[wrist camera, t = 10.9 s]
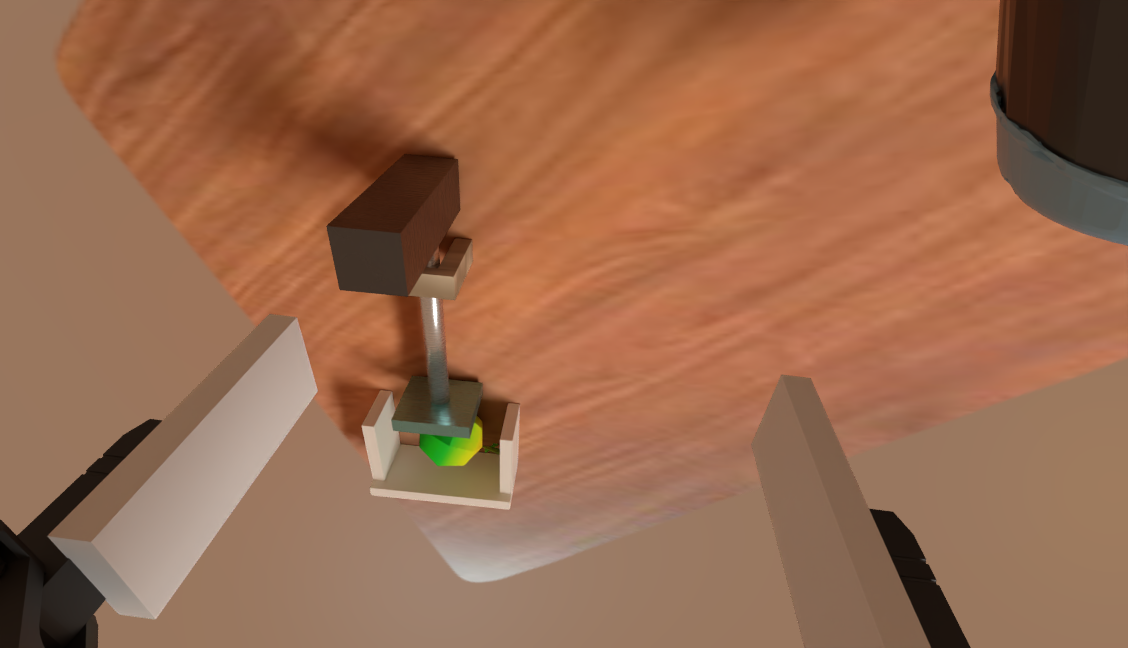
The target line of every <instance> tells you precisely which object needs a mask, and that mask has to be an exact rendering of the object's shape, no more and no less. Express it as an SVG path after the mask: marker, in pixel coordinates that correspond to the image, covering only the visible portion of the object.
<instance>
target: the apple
mask: <svg viewBox="0 0 1128 648" xmlns="http://www.w3.org/2000/svg"><path fill="white" fill-rule="evenodd" d="M497 445H499V444H496V443H493V445H492V446H490V447H488V446H482V421H481V420H480V419H479V417H478V416H477V415H476V419H475V422H474V426H473V429H472V432H471V436H470V439H469V438H459V437H449V436H439V435H429V434H420V445H419V447H420V448H421V450H422V451H423V452H424V453H425V454H426V455H427V456H428V457H429V458H430V459H431V460H432V461H433V462H434V463H435V464H436V465H437V466H464V465H465V464H466V463H467V462H468V461H469V460H470V459H471V458H472V457H473V456H474V455H475V454H476V453H477V452H478V451H479V450H480V449H481V448H482V447H483V448H485V453H487V452H488V451H491V452H494V453H496V454H498V455H500V449H499V448H494V447H496V446H497Z"/></svg>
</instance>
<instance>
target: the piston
mask: <svg viewBox="0 0 1128 648" xmlns="http://www.w3.org/2000/svg"><path fill="white" fill-rule="evenodd" d="M459 211H460V194H459V172H458V159H450V158H440V157H429V156H419V155H409V154H404V155H403V156H402V157H401V158H400V159H399V160H398V161H397V162H395V163H394V164H393V165H392V166H391V167H390V168H389V169H388V170H387V171H386V172H385V173H384V174H382V175H381V176H380V177H379V178H378V179H377V180H376V181H375V182H374V183H373V184H372V185H371V186H369V187H368V188H367V189H366V190H365V191H364V192H363V193H362V194H361V195H360V196H359V197H358V198H356V199H355V200H354V201H353V202H352V203H351V204H350V205H349V206H348V207H347V208H346V209H344V210H343V211H342V212H341V213H340V214H339V215H338V216H337V217H336V218H335V219H334V220H333V221H331V222H330V223H329V224H328V225H327V231H328V236H329V241H330V245H331V250H332V255H333V260H334V265H335V270H336V274H337V279H338V284H339V289H340V290H346V291H356V292H366V293H376V294H386V295H397V296H407V297H408V296H409V294H410V293H411V291H412V289H413V288H414V286H415V284H416V283H417V281H418V279H419V278H420V276H421V274H422V273H423V271H424V269H425V268H426V267H429V268H439V266H440V259H439V244H440V243H441V241H442V239H443V238H444V236H445V234H446V233H447V231H448V229H449V228H450V226H451V224H452V223H453V221H454V219H455V218H456V216H457V214H458V213H459ZM420 307H421V316H422V326H423V336H424V345H425V355H426V364H427V374H428V377H418V376H412V377H411V379H410V381H409V383H408V385H407V387H406V390H405V392H404V394H403V396H402V398H401V400H400V402H399V404H398V406H397V409H396V411H395V413H394V415H393V417H392V419H391V422H392V428H393V431H400V432H410V433H419V434H429V435H439V436H449V437H459V438H469V439H470V436H471V432H472V429H473V426H474V422H475V419H476V415H477V412H478V408H479V405H480V401H481V398H482V394H483V383H478V382H468V381H458V380H448V367H447V353H446V340H445V326H444V313H443V299H438V298H428V297H420Z"/></svg>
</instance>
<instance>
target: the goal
mask: <svg viewBox="0 0 1128 648" xmlns="http://www.w3.org/2000/svg"><path fill="white" fill-rule="evenodd" d="M394 413H395V406H394V400H393V394H392V391H386V390H380V392H379V394H378V396H377V397H376V399H375V401H374V403H373V405H372V407H371V409H370V410H369V412H368V414H367V416H366V418H365V420H364V422H363V424H362V425H361V426H362V431H363V435H364V440H365V444H366V449H367V454H368V458H369V463H370V467H371V472H372V476H373V481H372V484H371V486H370V492H371V495H375V496H385V497H394V498H403V499H413V500H423V501H432V502H442V503H452V504H461V505H471V506H480V507H490V508H500V509H509V510H510V505H511V499H512V494H513V488H514V482H515V477H516V471H517V465H518V445H519V415H520V404H515V403H508V406H507V411H506V415H505V419H504V424H503V428H502V433H501V437H500V455H498V454H491V453H482V452H477V453H476V454H475V455H474V456H473V457H472V458H471V459H470V460H469V461H468V462H467V463H466V464H465V465H464V466H437V465H436V464H435V463H434V462H433V461H432V460H431V459H430V458H429V457H428V456H427V455H426V454H425V453H424V452H423V451H422V450H421V448H420V447H419V446H413V445H403V444H400V438H399V431H393V428H392V422H391V419H392V417H393V415H394Z"/></svg>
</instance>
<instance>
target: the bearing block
mask: <svg viewBox="0 0 1128 648" xmlns="http://www.w3.org/2000/svg"><path fill="white" fill-rule="evenodd" d="M472 262H473V253H472V240H470V239H460V238H455V239H454V241H453V243H452V245H451V246H450V248H449V250H448V252H447V254H446V255H445V257H444V259H443V261H442V263H441V264H440V266H439V268H429V267H426V268H425V269H424V271H423V273H422V274H421V276H420V278H419V279H418V281H417V283H416V284H415V286H414V288H413V289H412V291H411V293H410V294H409V296H417V297H428V298H438V299H448V300H455V299H456V297H457V295H458V293H459V290H460V288H461V286H462V284H463V282H464V279H465V277H466V275H467V273H468V271H469V268H470V266H471V264H472Z"/></svg>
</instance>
